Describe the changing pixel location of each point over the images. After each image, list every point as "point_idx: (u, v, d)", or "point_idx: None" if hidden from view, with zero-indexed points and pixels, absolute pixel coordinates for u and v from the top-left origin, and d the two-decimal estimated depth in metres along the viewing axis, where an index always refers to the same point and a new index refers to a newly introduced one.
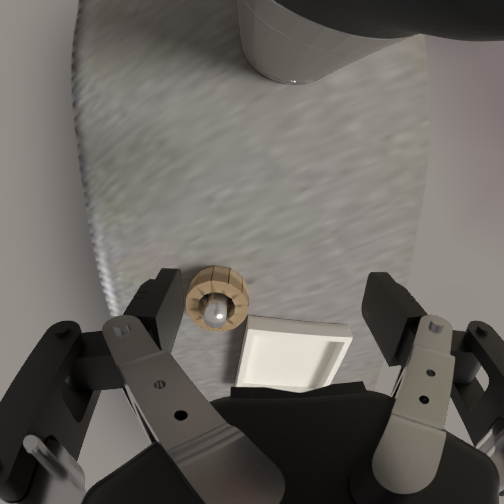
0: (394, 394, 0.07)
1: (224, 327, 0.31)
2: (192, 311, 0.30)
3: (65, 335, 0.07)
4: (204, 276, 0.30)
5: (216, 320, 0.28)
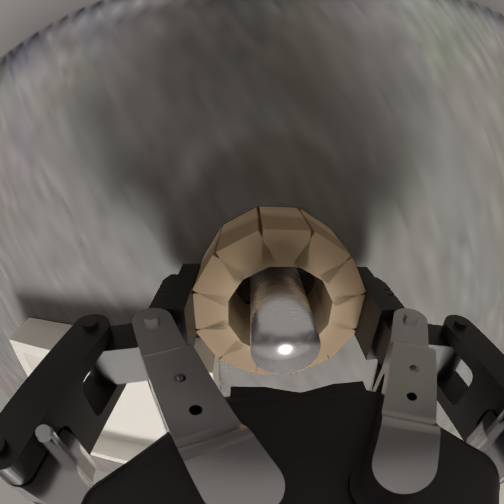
0: (376, 391, 0.07)
1: (213, 335, 0.11)
2: (256, 249, 0.10)
3: (94, 328, 0.07)
4: None
5: (284, 354, 0.09)
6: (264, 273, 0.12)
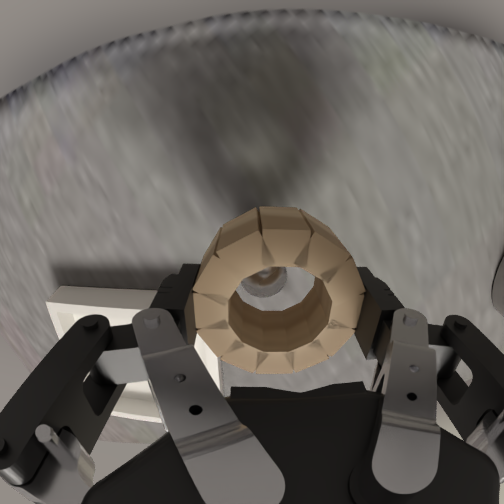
0: (376, 391, 0.07)
1: (213, 335, 0.11)
2: (256, 249, 0.10)
3: (94, 328, 0.07)
4: None
5: (262, 280, 0.14)
6: None
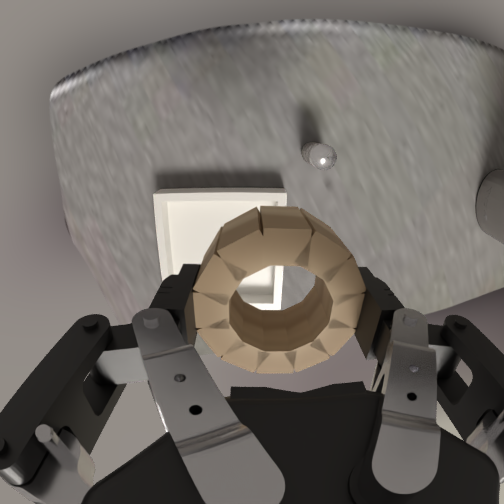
0: (376, 391, 0.07)
1: (213, 335, 0.11)
2: (257, 248, 0.10)
3: (94, 328, 0.07)
4: None
5: (323, 159, 0.23)
6: (310, 143, 0.26)
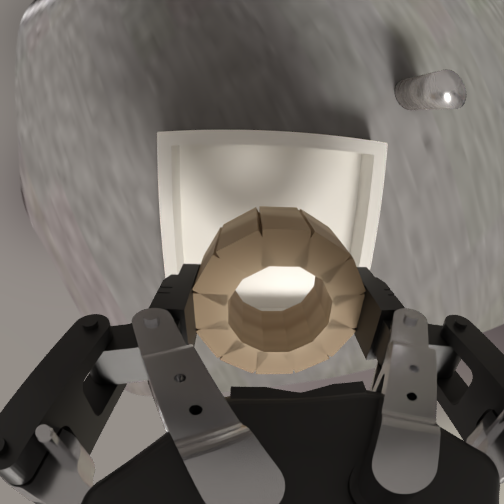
0: (376, 391, 0.07)
1: (213, 335, 0.11)
2: (256, 249, 0.10)
3: (94, 328, 0.07)
4: None
5: (451, 91, 0.11)
6: (413, 77, 0.13)
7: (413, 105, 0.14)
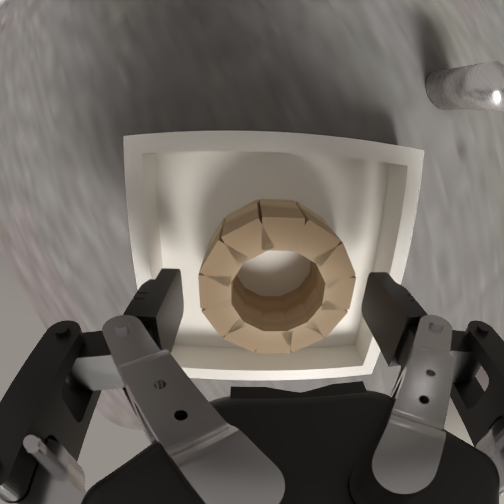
0: (394, 394, 0.07)
1: (217, 315, 0.12)
2: (256, 235, 0.11)
3: (65, 335, 0.07)
4: None
5: (502, 89, 0.07)
6: (449, 69, 0.10)
7: (450, 103, 0.10)
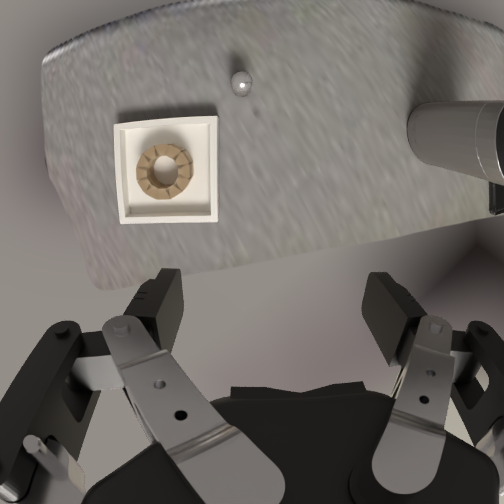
0: (394, 394, 0.07)
1: (142, 182, 0.32)
2: (153, 151, 0.31)
3: (65, 335, 0.07)
4: (187, 156, 0.32)
5: (241, 82, 0.27)
6: None
7: (237, 94, 0.30)
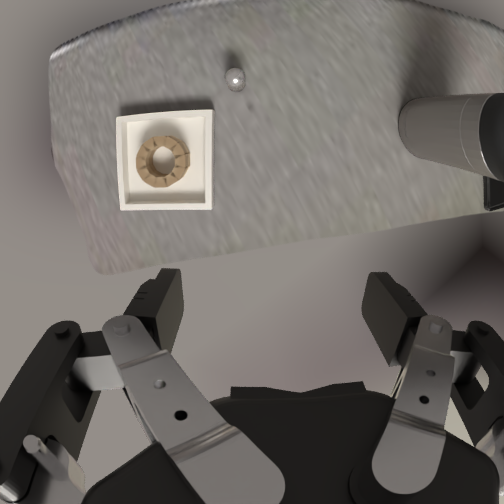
0: (394, 394, 0.07)
1: (141, 171, 0.34)
2: (152, 142, 0.32)
3: (65, 335, 0.07)
4: (184, 147, 0.34)
5: (234, 78, 0.28)
6: None
7: (231, 89, 0.32)
